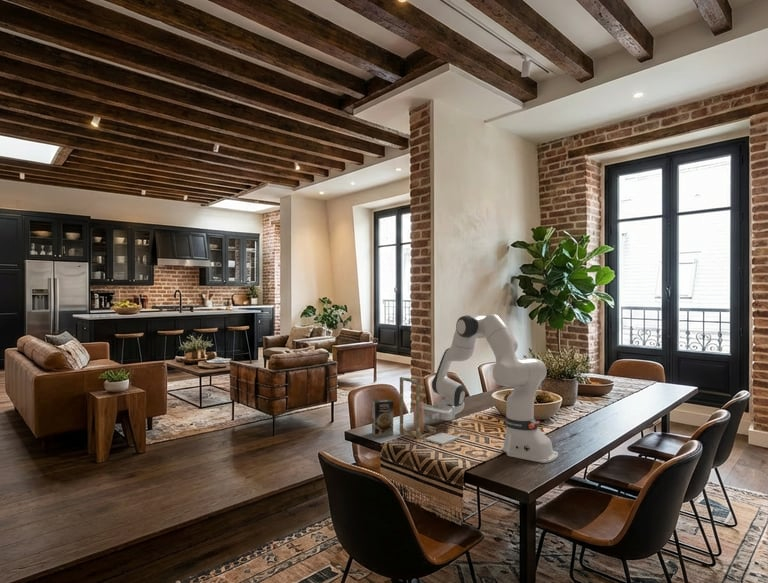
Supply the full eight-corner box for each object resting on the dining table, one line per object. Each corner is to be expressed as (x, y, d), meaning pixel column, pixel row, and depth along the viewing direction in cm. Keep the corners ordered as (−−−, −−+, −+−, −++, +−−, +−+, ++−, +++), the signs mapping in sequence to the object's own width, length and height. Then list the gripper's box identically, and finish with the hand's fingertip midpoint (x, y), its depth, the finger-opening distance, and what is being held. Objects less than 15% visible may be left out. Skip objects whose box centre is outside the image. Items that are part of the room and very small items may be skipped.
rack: (436, 432, 222) (436, 376, 222) (418, 439, 212) (418, 380, 212) (418, 427, 230) (418, 373, 230) (399, 434, 220) (399, 377, 220)
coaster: (458, 438, 213) (458, 437, 213) (442, 445, 204) (442, 443, 204) (440, 434, 220) (440, 432, 220) (424, 440, 211) (424, 438, 211)
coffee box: (375, 437, 216) (375, 402, 216) (371, 432, 222) (371, 399, 222) (393, 435, 218) (393, 401, 218) (390, 431, 224) (389, 398, 224)
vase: (426, 433, 222) (426, 403, 222) (419, 435, 218) (419, 405, 218) (418, 430, 225) (418, 402, 225) (411, 433, 222) (411, 403, 221)
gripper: (424, 400, 241) (407, 404, 231) (457, 406, 227) (440, 412, 217) (424, 412, 241) (407, 417, 231) (457, 419, 227) (440, 425, 217)
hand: (423, 415), depth 224 cm, fingers open, 8 cm apart
